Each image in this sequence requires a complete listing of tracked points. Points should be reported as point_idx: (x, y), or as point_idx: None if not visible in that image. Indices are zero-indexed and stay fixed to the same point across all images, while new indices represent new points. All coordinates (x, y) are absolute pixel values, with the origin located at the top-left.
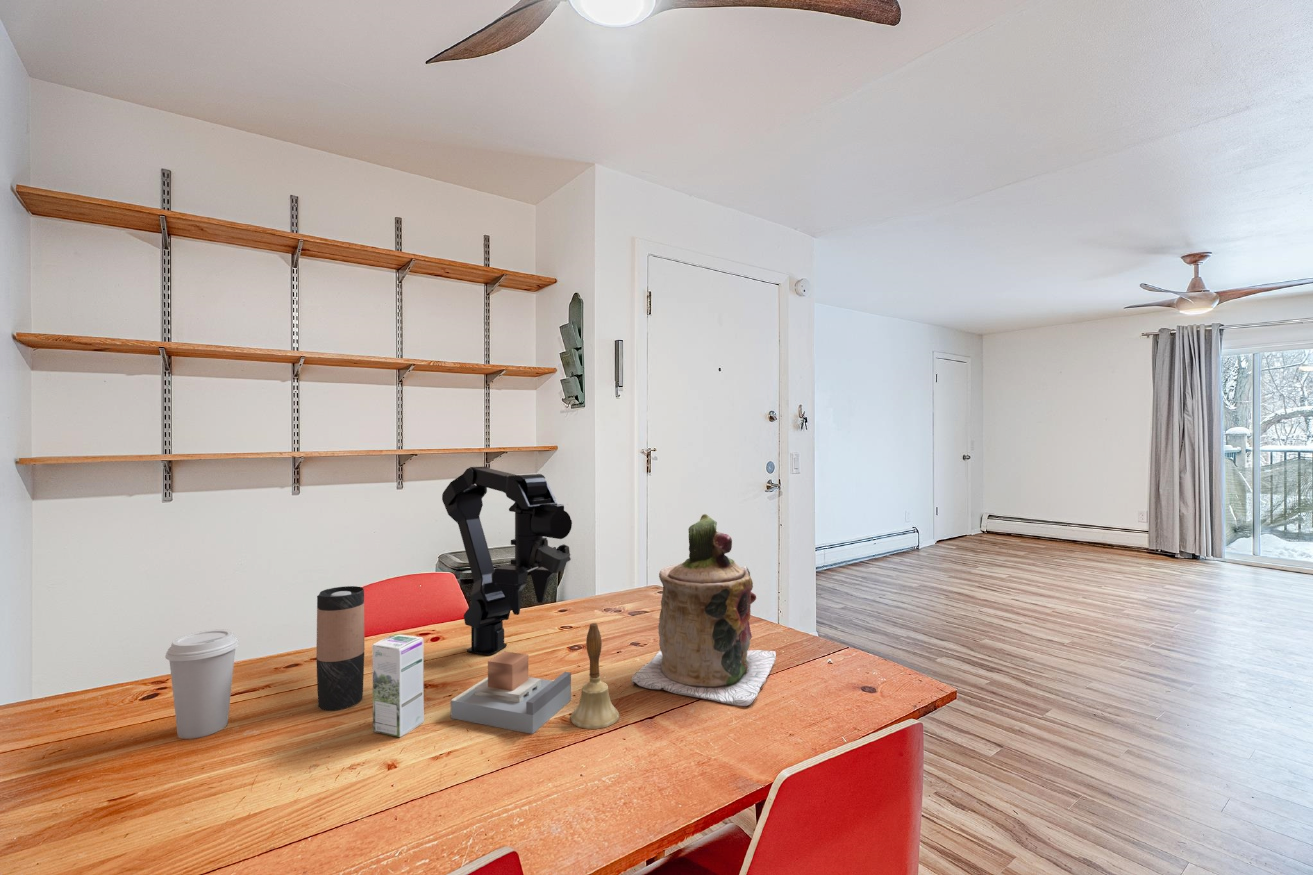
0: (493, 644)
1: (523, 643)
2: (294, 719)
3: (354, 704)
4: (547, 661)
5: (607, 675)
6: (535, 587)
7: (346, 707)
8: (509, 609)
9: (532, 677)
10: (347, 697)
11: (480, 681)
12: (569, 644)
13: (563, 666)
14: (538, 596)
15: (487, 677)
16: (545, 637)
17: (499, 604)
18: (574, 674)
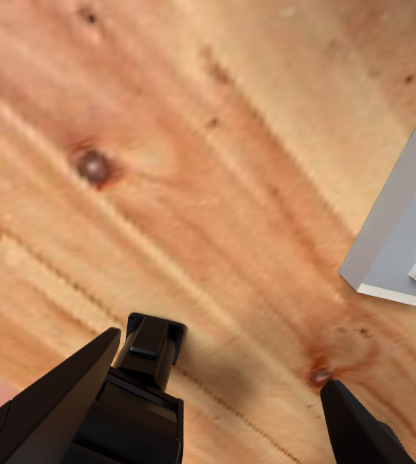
0: (167, 337)
1: (106, 288)
2: (410, 454)
3: (380, 422)
4: (194, 212)
5: (277, 5)
6: (60, 452)
7: (388, 426)
8: (107, 389)
9: (410, 199)
10: (399, 443)
11: (414, 305)
12: (80, 189)
13: (220, 165)
14: (102, 373)
15: (392, 298)
16: (58, 255)
17: (134, 437)
18: (270, 119)
